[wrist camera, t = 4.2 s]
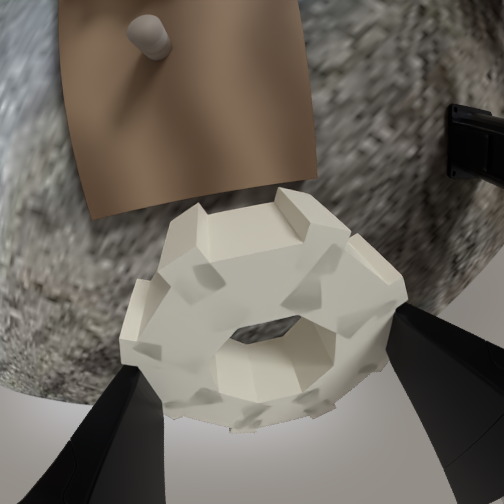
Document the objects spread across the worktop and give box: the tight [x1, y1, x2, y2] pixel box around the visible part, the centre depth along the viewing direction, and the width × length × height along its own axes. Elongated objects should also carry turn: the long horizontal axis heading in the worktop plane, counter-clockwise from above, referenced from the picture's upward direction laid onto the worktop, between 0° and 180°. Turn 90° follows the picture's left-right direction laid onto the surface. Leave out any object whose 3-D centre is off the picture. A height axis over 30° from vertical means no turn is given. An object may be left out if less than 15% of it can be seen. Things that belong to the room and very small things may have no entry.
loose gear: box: [119, 187, 408, 433], centre depth 8 cm, size 7×7×2 cm
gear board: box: [58, 0, 318, 220], centre depth 10 cm, size 14×22×6 cm, turn 7°
